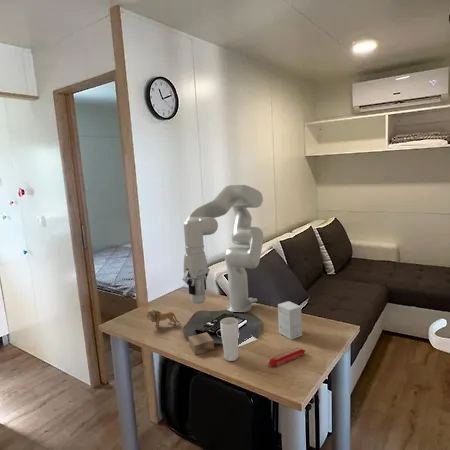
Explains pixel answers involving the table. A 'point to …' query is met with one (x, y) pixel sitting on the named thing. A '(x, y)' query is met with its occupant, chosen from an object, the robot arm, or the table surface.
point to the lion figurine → (160, 317)
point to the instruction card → (247, 341)
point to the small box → (290, 320)
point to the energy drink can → (199, 288)
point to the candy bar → (286, 357)
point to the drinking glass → (230, 338)
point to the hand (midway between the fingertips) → (197, 291)
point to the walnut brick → (201, 343)
